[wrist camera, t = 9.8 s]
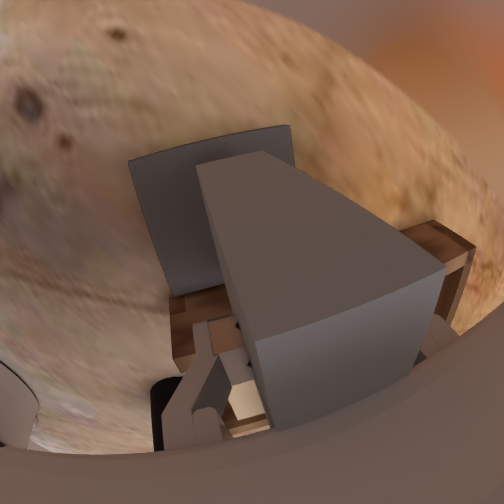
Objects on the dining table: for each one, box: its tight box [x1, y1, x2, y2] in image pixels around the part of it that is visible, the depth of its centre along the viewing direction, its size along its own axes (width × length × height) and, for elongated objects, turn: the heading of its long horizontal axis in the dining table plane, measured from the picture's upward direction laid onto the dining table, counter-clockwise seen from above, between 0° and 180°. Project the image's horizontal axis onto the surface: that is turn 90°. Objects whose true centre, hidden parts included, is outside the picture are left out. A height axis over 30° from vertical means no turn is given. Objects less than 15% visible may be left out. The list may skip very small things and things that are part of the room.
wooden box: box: [169, 220, 476, 435], centre depth 23 cm, size 26×13×6 cm, turn 99°
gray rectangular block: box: [195, 151, 447, 432], centre depth 10 cm, size 3×9×10 cm, turn 9°
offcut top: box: [228, 380, 265, 420], centre depth 20 cm, size 6×6×2 cm
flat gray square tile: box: [128, 125, 295, 297], centre depth 18 cm, size 10×10×1 cm
